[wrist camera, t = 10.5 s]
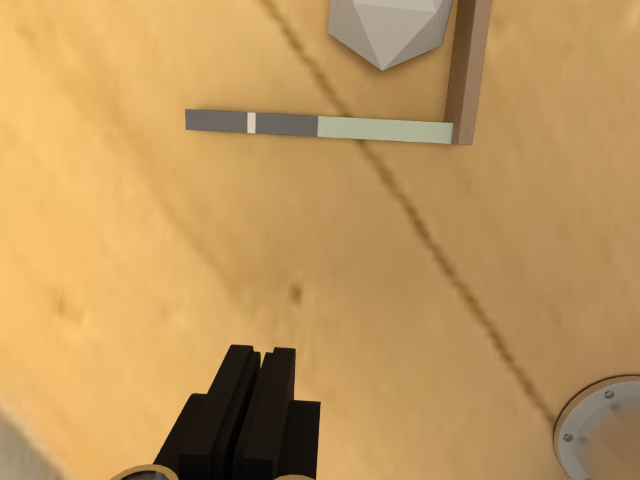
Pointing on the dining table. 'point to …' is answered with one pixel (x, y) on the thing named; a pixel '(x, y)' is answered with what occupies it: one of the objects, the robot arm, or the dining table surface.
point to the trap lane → (453, 130)
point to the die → (389, 28)
